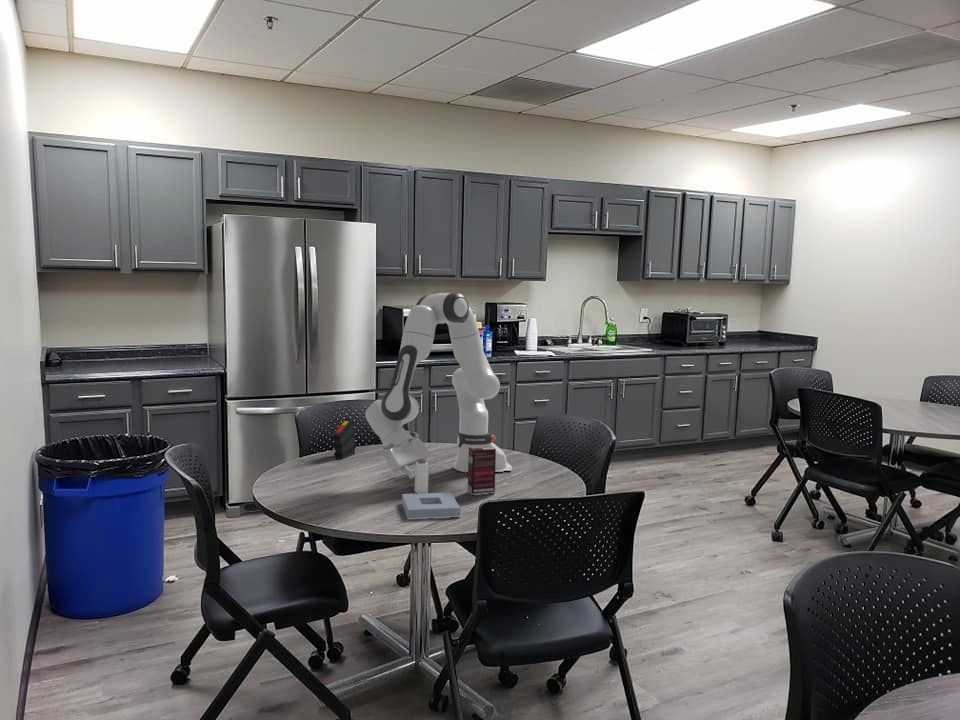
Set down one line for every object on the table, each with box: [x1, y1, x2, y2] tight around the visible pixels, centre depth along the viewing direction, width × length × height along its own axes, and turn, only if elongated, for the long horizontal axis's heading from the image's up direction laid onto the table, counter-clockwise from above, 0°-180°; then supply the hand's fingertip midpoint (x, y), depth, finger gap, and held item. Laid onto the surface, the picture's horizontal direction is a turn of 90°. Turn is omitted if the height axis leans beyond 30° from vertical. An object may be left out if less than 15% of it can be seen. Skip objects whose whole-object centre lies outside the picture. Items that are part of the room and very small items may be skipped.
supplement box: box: [467, 446, 496, 496], centre depth 245 cm, size 9×5×16 cm, turn 110°
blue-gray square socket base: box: [401, 492, 462, 520], centre depth 226 cm, size 16×16×3 cm
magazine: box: [331, 418, 357, 460], centre depth 288 cm, size 4×13×15 cm, turn 161°
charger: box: [413, 460, 430, 494], centre depth 244 cm, size 4×4×11 cm
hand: (420, 474), depth 244 cm, fingers open, 8 cm apart
